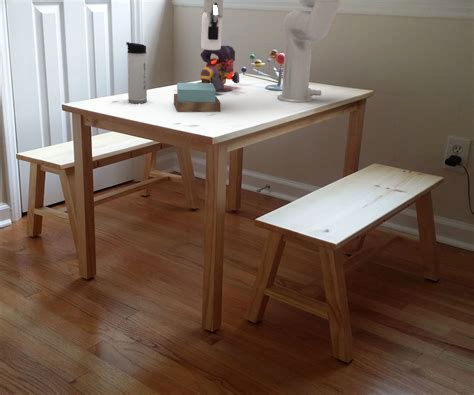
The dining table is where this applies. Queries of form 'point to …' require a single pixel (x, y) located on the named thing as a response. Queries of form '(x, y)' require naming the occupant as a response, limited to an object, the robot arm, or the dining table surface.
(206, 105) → the tower base block
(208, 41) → the can
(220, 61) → the figurine
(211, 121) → the dining table surface
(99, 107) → the dining table surface
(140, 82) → the travel mug
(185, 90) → the tower top block
